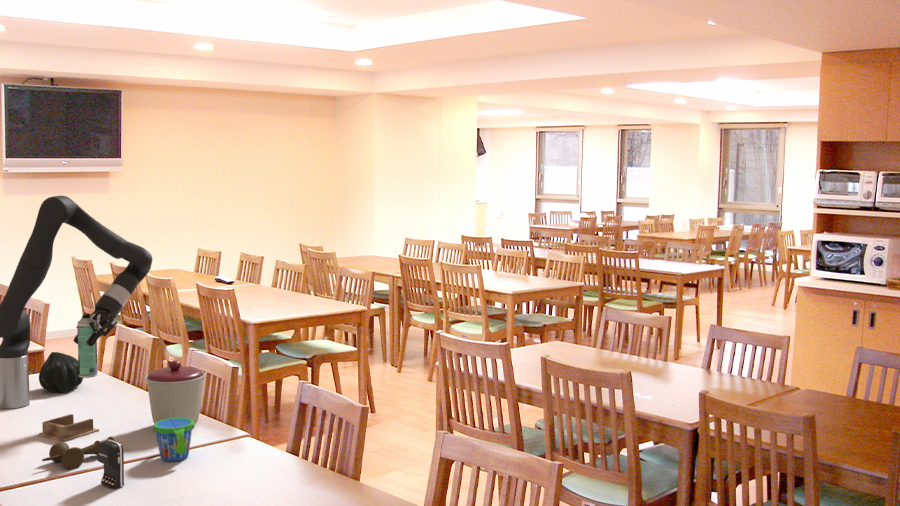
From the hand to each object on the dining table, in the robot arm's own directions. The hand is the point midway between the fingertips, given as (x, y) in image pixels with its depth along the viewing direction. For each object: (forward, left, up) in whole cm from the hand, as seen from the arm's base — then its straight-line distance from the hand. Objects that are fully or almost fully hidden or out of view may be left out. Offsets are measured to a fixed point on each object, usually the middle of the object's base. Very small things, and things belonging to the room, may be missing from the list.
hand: (82, 343), depth 259 cm
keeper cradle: (+4, -9, -26) cm, 28 cm away
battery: (+50, -31, -26) cm, 64 cm away
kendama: (+28, -23, -26) cm, 45 cm away
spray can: (0, +2, -11) cm, 11 cm away
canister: (+26, +13, -26) cm, 39 cm away
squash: (-42, +22, -26) cm, 54 cm away
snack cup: (+48, -8, -26) cm, 55 cm away
